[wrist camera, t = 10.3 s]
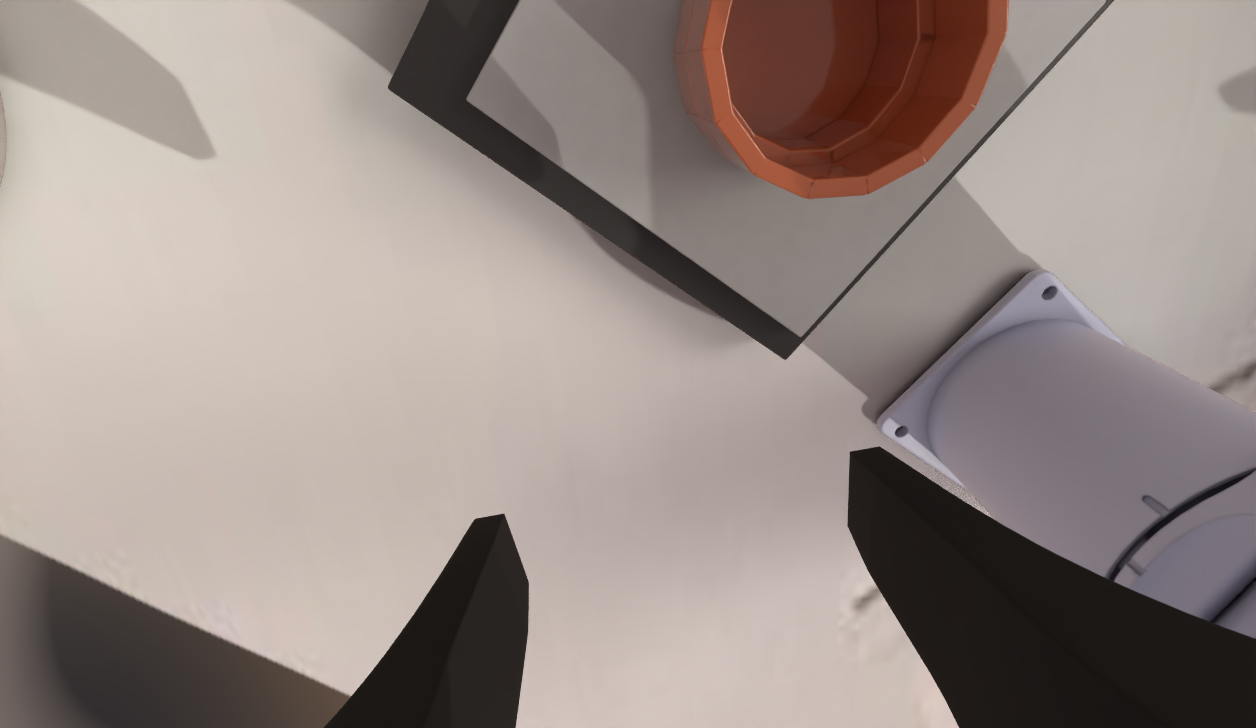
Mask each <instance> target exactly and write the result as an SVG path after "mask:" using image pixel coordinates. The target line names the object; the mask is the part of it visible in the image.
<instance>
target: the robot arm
mask: <svg viewBox="0 0 1256 728" xmlns="http://www.w3.org/2000/svg"><path fill="white" fill-rule="evenodd" d="M1048 287H1049V289H1048V291H1047V292H1046V293H1045V294H1044V295H1042V294H1043V292H1044V290H1045V289H1046V288H1048ZM901 426H903V427H902V428H901V429H900V430H899V431H896V430H897V428H899V427H901ZM877 427H878V428H879V430H880V431H881V432H882V433H883V434H884V435H885V436H887V437H888V438H890V439H891V440H893V441H894V442H896V443H897V444H899V445H900V446H902V447H903V448H905V449H906V450H908V451H909V452H911V453H912V454H914V455H915V456H916V457H918V458H919V459H921V460H922V461H924V462H925V463H927V464H928V465H930V466H931V467H933V468H934V469H936V470H937V471H939V472H940V473H942V474H943V475H945V476H946V477H948V478H949V479H950V480H952V481H953V482H955V483H956V484H958V485H959V486H961V487H962V488H964V489H965V490H967V491H968V492H970V493H971V494H972V495H973V496H974V497H975V498H976V499H977V500H978V502H979V503H980V504H981V505H982V506H983V507H984V508H985V509H986V510H987V511H988V512H989V514H990V515H991V516H992V517H993V518H994V519H995V520H994V519H992V518H991V517H989V516H987V515H985V514H984V513H982V512H980V511H979V510H977V509H976V508H974V507H972V506H971V505H969V504H967V503H966V502H964V501H963V500H961V499H959V498H958V497H956V496H955V495H953V494H951V493H950V492H948V491H947V490H945V489H944V488H942V487H940V486H939V485H937V484H936V483H934V482H933V481H931V480H930V479H928V478H927V477H925V476H924V475H922V474H921V473H919V472H918V471H916V470H915V469H913V468H912V467H910V466H909V465H907V464H906V463H904V462H903V461H901V460H899V459H898V458H896V457H895V456H893V455H892V454H890V453H889V452H887V451H886V450H884V449H882V448H881V447H874V448H869V449H863V450H858V451H852V452H850V465H849V498H848V528H849V530H850V532H851V534H852V537H853V539H854V541H855V543H856V546H857V548H858V550H859V552H860V555H861V557H862V559H863V561H864V563H865V565H866V567H867V569H868V571H869V573H870V575H871V577H872V578H873V580H874V582H875V583H876V585H877V587H878V588H879V590H880V592H881V593H882V595H883V597H884V598H885V600H886V602H887V603H888V605H889V606H890V608H891V610H892V611H893V613H894V615H895V616H896V618H897V620H898V621H899V623H900V624H901V626H902V628H903V629H904V631H905V633H906V634H907V636H908V637H909V639H910V641H911V642H912V644H913V646H914V647H915V649H916V651H917V652H918V654H919V655H920V657H921V659H922V660H923V662H924V664H925V665H926V667H927V668H928V670H929V672H930V673H931V675H932V677H933V679H934V680H935V682H936V684H937V686H938V687H939V689H940V691H941V693H942V695H943V696H944V698H945V700H946V702H947V704H948V706H949V708H950V710H951V712H952V714H953V716H954V718H955V720H956V722H957V724H958V726H959V728H1256V412H1255V411H1253V410H1251V409H1249V408H1247V407H1245V406H1243V405H1241V404H1239V403H1237V402H1235V401H1233V400H1231V399H1229V398H1227V397H1225V396H1223V395H1221V394H1219V393H1217V392H1215V391H1213V390H1212V389H1210V388H1208V387H1206V386H1204V385H1202V384H1200V383H1198V382H1196V381H1194V380H1192V379H1190V378H1188V377H1186V376H1184V375H1182V374H1180V373H1178V372H1176V371H1174V370H1172V369H1170V368H1168V367H1166V366H1164V365H1162V364H1160V363H1158V362H1156V361H1154V360H1152V359H1150V358H1148V357H1146V356H1145V355H1143V354H1141V353H1139V352H1137V351H1135V350H1133V349H1131V348H1129V347H1128V346H1127V345H1126V344H1125V343H1124V342H1123V341H1122V340H1121V339H1120V338H1119V337H1118V336H1117V335H1116V334H1115V333H1114V332H1113V331H1112V330H1111V329H1110V328H1108V327H1107V326H1106V325H1105V324H1104V323H1103V322H1102V321H1101V320H1100V319H1099V318H1098V317H1097V316H1096V315H1095V314H1094V313H1093V312H1092V311H1091V310H1090V309H1089V308H1088V307H1087V306H1086V305H1085V304H1083V303H1082V302H1081V301H1080V300H1079V299H1078V298H1077V297H1076V296H1075V295H1074V294H1073V293H1072V292H1071V291H1070V290H1069V289H1068V288H1067V287H1066V286H1065V285H1064V284H1063V283H1062V282H1061V281H1059V280H1058V279H1057V278H1056V277H1055V276H1054V275H1053V274H1052V273H1050V272H1048V271H1046V270H1043V269H1035V270H1033V271H1031V272H1029V273H1028V274H1027V275H1025V276H1024V277H1023V278H1022V279H1021V280H1020V281H1019V282H1018V283H1017V284H1016V285H1015V286H1014V287H1013V288H1012V289H1011V290H1010V291H1009V292H1008V293H1007V294H1006V295H1005V296H1004V297H1003V298H1002V299H1001V300H1000V301H999V302H997V303H996V304H995V305H994V306H993V307H992V308H991V309H990V310H989V311H988V312H987V313H986V314H985V315H984V316H983V317H982V318H981V319H980V320H979V321H978V322H977V323H976V324H975V325H974V326H973V327H972V328H971V329H970V330H968V331H967V332H966V333H965V334H964V335H963V336H962V337H961V338H960V339H959V340H958V341H957V342H956V343H955V344H954V345H953V346H952V347H951V348H950V349H949V350H948V351H947V352H946V353H945V354H944V355H943V356H942V357H941V358H939V359H938V360H937V361H936V362H935V363H934V364H933V365H932V366H931V367H930V368H929V369H928V370H927V371H926V372H925V373H924V374H923V375H922V376H921V377H920V378H919V379H918V380H917V381H916V382H915V383H914V384H913V385H911V386H910V387H909V388H908V389H907V390H906V391H905V392H904V393H903V394H902V395H901V396H900V397H899V398H898V399H897V400H896V401H895V402H894V403H893V404H892V405H891V406H890V407H889V408H888V409H887V410H886V411H885V412H884V413H882V414H881V415H880V417H879V418H878V420H877ZM528 611H529V582H528V579H527V576H526V573H525V571H524V568H523V565H522V562H521V559H520V556H519V554H518V551H517V548H516V545H515V542H514V540H513V537H512V534H511V531H510V528H509V526H508V523H507V520H506V517H505V514H500V515H494V516H489V517H483V518H477V519H475V520H474V521H473V523H472V524H471V526H470V527H469V529H468V530H467V532H466V534H465V535H464V537H463V539H462V540H461V542H460V543H459V545H458V547H457V548H456V550H455V552H454V553H453V555H452V556H451V558H450V560H449V561H448V563H447V564H446V566H445V568H444V569H443V571H442V572H441V574H440V576H439V577H438V579H437V580H436V582H435V583H434V585H433V586H432V588H431V589H430V591H429V592H428V594H427V595H426V597H425V598H424V600H423V602H422V603H421V605H420V606H419V608H418V609H417V611H416V612H415V613H414V615H413V616H412V618H411V619H410V621H409V622H408V623H407V625H406V626H405V627H404V629H403V630H402V632H401V633H400V634H399V636H398V637H397V639H396V640H395V641H394V643H393V644H392V645H391V647H390V648H389V650H388V651H387V652H386V654H385V655H384V656H383V658H382V659H381V660H380V662H379V663H378V664H377V665H376V667H375V668H374V669H373V671H372V672H371V673H370V674H369V676H368V677H367V678H366V679H365V681H364V682H363V683H362V684H361V685H360V687H359V688H358V689H357V690H356V691H355V693H354V694H353V695H352V696H351V697H350V699H349V700H348V701H347V702H346V704H345V705H344V706H343V707H342V708H341V709H340V710H339V712H338V713H337V714H336V715H335V716H334V717H333V718H332V719H331V720H330V721H329V722H328V724H327V725H326V726H325V727H324V728H515V727H516V720H517V712H518V705H519V697H520V690H521V682H522V675H523V667H524V660H525V652H526V644H527V635H528Z"/></svg>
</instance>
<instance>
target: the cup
mask: <svg viewBox="0 0 1256 728" xmlns="http://www.w3.org/2000/svg"><path fill="white" fill-rule="evenodd" d="M1008 14H1009V0H682V6H681V11H680V17H679V22H678V27H677V33H676V38H675V44H674V49H673V52H674V56H673V58H674V63H675V68H676V72H677V77H678V82H679V87H680V91H681V96H682V101H683V105H684V109H685V110H686V114H687V115H688V116H689V118H690V119H691V120H692V122H693V123H694V124H695V126H696V127H697V128H698V130H699V131H700V132H701V134H702V135H703V136H704V138H705V139H706V140H707V141H708V143H709V144H710V145H711V147H712V148H713V149H714V151H716V152H717V153H719V154H720V155H721V156H723V157H725V158H726V159H728V160H730V161H731V162H733V163H734V164H736V165H737V166H739V167H741V168H742V169H744V170H745V171H747V172H749V173H750V174H752V175H754V176H756V177H758V178H760V179H762V180H764V181H767V182H769V183H771V184H773V185H775V186H778V187H780V188H782V189H784V190H786V191H789V192H791V193H793V194H795V195H798V196H800V197H802V198H804V199H806V198H807V199H820V198H834V197H849V196H863V195H867V194H870V193H872V192H874V191H876V190H878V189H880V188H882V187H883V186H885V185H887V184H889V183H891V182H893V181H895V180H896V179H898V178H900V177H902V176H904V175H906V174H908V173H910V172H911V171H913V170H915V169H917V168H919V167H921V166H923V165H925V164H926V162H928V161H929V160H930V159H931V158H932V157H933V156H934V155H935V154H936V152H937V151H938V150H939V149H940V148H941V147H942V146H943V145H944V143H945V142H946V141H947V140H948V139H949V138H950V137H951V136H952V134H953V133H954V132H955V131H956V130H957V129H958V128H959V126H960V125H961V124H962V123H963V122H964V121H965V120H966V119H967V117H968V116H969V115H970V114H971V113H972V112H973V111H974V110H975V108H976V107H975V106H977V105H978V103H979V100H980V98H981V96H982V93H983V91H984V88H985V86H986V84H987V81H988V79H989V76H990V74H991V72H992V69H993V67H994V64H995V62H996V60H997V57H998V55H999V52H1000V50H1001V47H1002V45H1003V43H1004V40H1005V38H1006V35H1007V33H1006V32H1007V31H1008Z"/></svg>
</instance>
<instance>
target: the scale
mask: <svg viewBox="0 0 1256 728" xmlns="http://www.w3.org/2000/svg"><path fill="white" fill-rule="evenodd" d="M1113 1H1114V0H1009V14H1008V31H1007V32H1006V33H1007V35H1006V38H1005V40H1004V43H1003V45H1002V47H1001V50H1000V52H999V55H998V57H997V60H996V62H995V64H994V67H993V69H992V72H991V74H990V76H989V79H988V81H987V84H986V86H985V88H984V91H983V93H982V96H981V98H980V100H979V103H978V105H977V106H975V107H976V108H975V110H974V111H973V112H972V113H971V114H970V115H969V116H968V117H967V119H966V120H965V121H964V122H963V123H962V124H961V125H960V126H959V128H958V129H957V130H956V131H955V132H954V133H953V134H952V136H951V137H950V138H949V139H948V140H947V141H946V142H945V143H944V145H943V146H942V147H941V148H940V149H939V150H938V151H937V152H936V154H935V155H934V156H933V157H932V158H931V159H930V160H929V161H928V162H926V164H925V165H923V166H921V167H919V168H917V169H915V170H913V171H911V172H910V173H908V174H906V175H904V176H902V177H900V178H898V179H896V180H895V181H893V182H891V183H889V184H887V185H885V186H883V187H882V188H880V189H878V190H876V191H874V192H872V193H870V194H867V195H863V196H849V197H834V198H820V199H807V198H806V199H804V198H802V197H800V196H798V195H795V194H793V193H791V192H789V191H786V190H784V189H782V188H780V187H778V186H775V185H773V184H771V183H769V182H767V181H764V180H762V179H760V178H758V177H756V176H754V175H752V174H750V173H749V172H747V171H745V170H744V169H742V168H741V167H739V166H737V165H736V164H734V163H733V162H731V161H730V160H728V159H726V158H725V157H723V156H721V155H720V154H719V153H717V152H716V151H714V149H713V148H712V147H711V145H710V144H709V143H708V141H707V140H706V139H705V138H704V136H703V135H702V134H701V132H700V131H699V130H698V128H697V127H696V126H695V124H694V123H693V122H692V120H691V119H690V118H689V116H688V115H687V114H686V110H685V109H684V105H683V101H682V96H681V91H680V87H679V82H678V77H677V72H676V68H675V63H674V58H673V56H674V52H673V49H674V44H675V38H676V33H677V27H678V22H679V17H680V11H681V6H682V0H429V2H428V4H427V6H426V9H425V11H424V13H423V15H422V17H421V19H420V21H419V23H418V25H417V27H416V29H415V31H414V33H413V35H412V38H411V40H410V42H409V44H408V46H407V48H406V50H405V52H404V54H403V56H402V58H401V60H400V62H399V64H398V67H397V69H396V71H395V73H394V75H393V77H392V79H391V81H390V83H389V85H388V89H389V90H390V91H392V92H393V93H394V94H396V95H397V96H399V97H400V98H402V99H403V100H405V101H406V102H408V103H409V104H411V105H412V106H414V107H415V108H416V109H418V110H419V111H421V112H422V113H424V114H425V115H427V116H428V117H430V118H431V119H433V120H434V121H436V122H437V123H438V124H440V125H441V126H443V127H444V128H446V129H447V130H449V131H450V132H452V133H453V134H455V135H456V136H457V137H459V138H460V139H462V140H463V141H465V142H466V143H468V144H469V145H471V146H472V147H474V148H475V149H477V150H478V151H479V152H481V153H482V154H484V155H485V156H487V157H488V158H490V159H491V160H493V161H494V162H496V163H497V164H499V165H500V166H501V167H503V168H504V169H506V170H507V171H509V172H510V173H512V174H513V175H515V176H516V177H518V178H519V179H520V180H522V181H523V182H525V183H526V184H528V185H529V186H531V187H532V188H534V189H535V190H537V191H538V192H540V193H541V194H542V195H544V196H545V197H547V198H548V199H550V200H551V201H553V202H554V203H556V204H557V205H559V206H560V207H562V208H563V209H564V210H566V211H567V212H569V213H570V214H572V215H573V216H575V217H576V218H578V219H579V220H581V221H582V222H583V223H585V224H586V225H588V226H589V227H591V228H592V229H594V230H595V231H597V232H598V233H600V234H601V235H603V236H604V237H605V238H607V239H608V240H610V241H611V242H613V243H614V244H616V245H617V246H619V247H620V248H622V249H623V250H625V251H626V252H627V253H629V254H630V255H632V256H633V257H635V258H636V259H638V260H639V261H641V262H642V263H644V264H645V265H646V266H648V267H649V268H651V269H652V270H654V271H655V272H657V273H658V274H660V275H661V276H663V277H664V278H666V279H667V280H668V281H670V282H671V283H673V284H674V285H676V286H677V287H679V288H680V289H682V290H683V291H685V292H686V293H688V294H689V295H690V296H692V297H693V298H695V299H696V300H698V301H699V302H701V303H702V304H704V305H705V306H707V307H708V308H710V309H711V310H712V311H714V312H715V313H717V314H718V315H720V316H721V317H723V318H724V319H726V320H727V321H729V322H730V323H731V324H733V325H734V326H736V327H737V328H739V329H740V330H742V331H743V332H745V333H746V334H748V335H749V336H751V337H752V338H753V339H755V340H756V341H758V342H759V343H761V344H762V345H764V346H765V347H767V348H768V349H770V350H771V351H773V352H774V353H775V354H777V355H778V356H780V357H781V358H783V359H785V360H786V359H787V358H788V357H789V356H790V355H791V354H792V353H793V352H794V351H795V350H796V348H797V347H798V346H799V345H800V344H801V343H802V342H803V341H804V340H805V339H806V337H807V336H808V335H809V334H810V333H811V332H812V331H813V330H814V329H815V328H816V326H817V325H818V324H819V323H820V322H821V321H822V320H823V319H824V318H825V317H826V316H827V314H828V313H829V312H830V311H831V310H832V309H833V308H834V307H835V306H836V305H837V303H838V302H839V301H840V300H841V299H842V298H843V297H844V296H845V295H846V294H847V293H848V291H849V290H850V289H851V288H852V287H853V286H854V285H855V284H856V283H857V282H858V280H859V279H860V278H861V277H862V276H863V275H864V274H865V273H866V272H867V271H868V270H869V268H870V267H871V266H872V265H873V264H874V263H875V262H876V261H877V260H878V259H879V257H880V256H881V255H882V254H883V253H884V252H885V251H886V250H887V249H888V248H889V247H890V245H891V244H892V243H893V242H894V241H895V240H896V239H897V238H898V237H899V236H900V234H901V233H902V232H903V231H904V230H905V229H906V228H907V227H908V226H909V225H910V223H911V222H912V221H913V220H914V219H915V218H916V217H917V216H918V215H919V214H920V213H921V211H922V210H923V209H924V208H925V207H926V206H927V205H928V204H929V203H930V202H931V200H932V199H933V198H934V197H935V196H936V195H937V194H938V193H939V192H940V191H941V190H942V188H943V187H944V186H945V185H946V184H947V183H948V182H949V181H950V180H951V179H952V177H953V176H954V175H955V174H956V173H957V172H958V171H959V170H960V169H961V168H962V167H963V165H964V164H965V163H966V162H967V161H968V160H969V159H970V158H971V157H972V156H973V154H974V153H975V152H976V151H977V150H978V149H979V148H980V147H981V146H982V145H983V144H984V142H985V141H986V140H987V139H988V138H989V137H990V136H991V135H992V134H993V133H994V131H995V130H996V129H997V128H998V127H999V126H1000V125H1001V124H1002V123H1003V122H1004V120H1005V119H1006V118H1007V117H1008V116H1009V115H1010V114H1011V113H1012V112H1013V111H1014V110H1015V108H1016V107H1017V106H1018V105H1019V104H1020V103H1021V102H1022V101H1023V100H1024V99H1025V97H1026V96H1027V95H1028V94H1029V93H1030V92H1031V91H1032V90H1033V89H1034V88H1035V87H1036V85H1037V84H1038V83H1039V82H1040V81H1041V80H1042V79H1043V78H1044V77H1045V76H1046V74H1047V73H1048V72H1049V71H1050V70H1051V69H1052V68H1053V67H1054V66H1055V65H1056V64H1057V62H1058V61H1059V60H1060V59H1061V58H1062V57H1063V56H1064V55H1065V54H1066V53H1067V51H1068V50H1069V49H1070V48H1071V47H1072V46H1073V45H1074V44H1075V43H1076V42H1077V41H1078V39H1079V38H1080V37H1081V36H1082V35H1083V34H1084V33H1085V32H1086V31H1087V30H1088V28H1089V27H1090V26H1091V25H1092V24H1093V23H1094V22H1095V21H1096V20H1097V19H1098V17H1099V16H1100V15H1101V14H1102V13H1103V12H1104V11H1105V10H1106V9H1107V8H1108V7H1109V5H1110V4H1111V3H1112V2H1113Z"/></svg>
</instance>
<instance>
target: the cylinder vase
mask: <svg viewBox="0 0 1256 728" xmlns="http://www.w3.org/2000/svg"><path fill="white" fill-rule="evenodd" d="M6 143H7V140H6V122H5V114H4V108H3V102H2V98H1V93H0V185H1V182H2V178H3V173H4V167H5V160H6Z"/></svg>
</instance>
